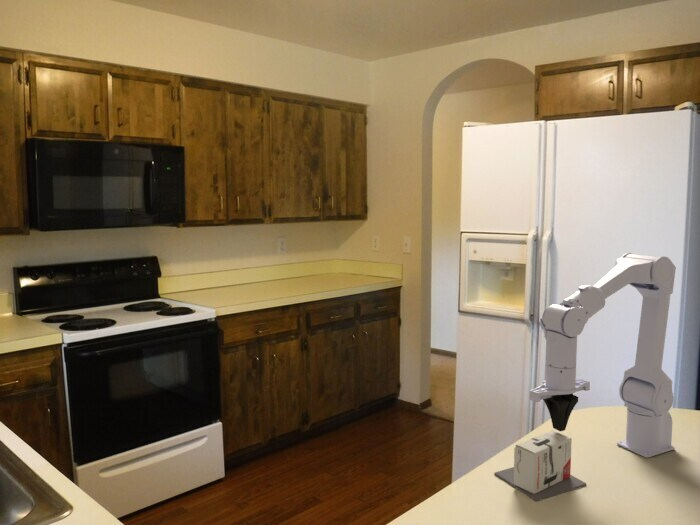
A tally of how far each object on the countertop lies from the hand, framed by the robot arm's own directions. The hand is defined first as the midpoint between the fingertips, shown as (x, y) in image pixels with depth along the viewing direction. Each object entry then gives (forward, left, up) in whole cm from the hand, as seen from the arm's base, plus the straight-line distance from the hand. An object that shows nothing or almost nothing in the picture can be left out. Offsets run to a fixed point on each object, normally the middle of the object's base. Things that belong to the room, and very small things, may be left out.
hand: (559, 429), depth 120 cm
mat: (+5, 0, -10) cm, 11 cm away
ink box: (-1, 0, -5) cm, 5 cm away
